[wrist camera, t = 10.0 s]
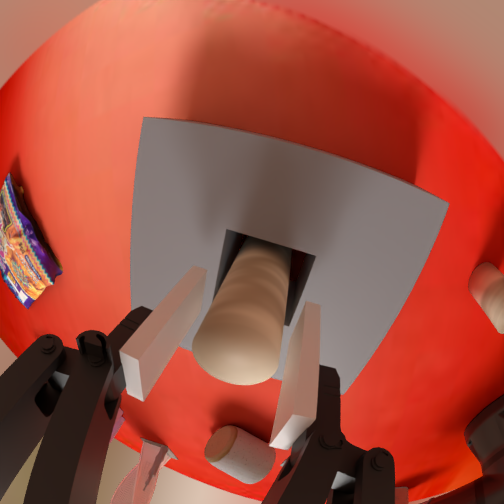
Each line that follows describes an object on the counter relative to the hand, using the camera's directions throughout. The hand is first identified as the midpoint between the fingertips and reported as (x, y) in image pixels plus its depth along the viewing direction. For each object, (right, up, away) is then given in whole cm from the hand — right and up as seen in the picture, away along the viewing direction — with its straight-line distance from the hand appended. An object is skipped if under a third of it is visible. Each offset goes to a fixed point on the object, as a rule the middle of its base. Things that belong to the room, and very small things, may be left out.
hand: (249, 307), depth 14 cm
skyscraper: (-21, -41, +33) cm, 57 cm away
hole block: (+2, +3, +8) cm, 9 cm away
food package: (-37, +3, +18) cm, 41 cm away
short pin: (+22, 0, +5) cm, 22 cm away
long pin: (+1, +3, +8) cm, 8 cm away
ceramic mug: (-2, -26, +22) cm, 34 cm away
